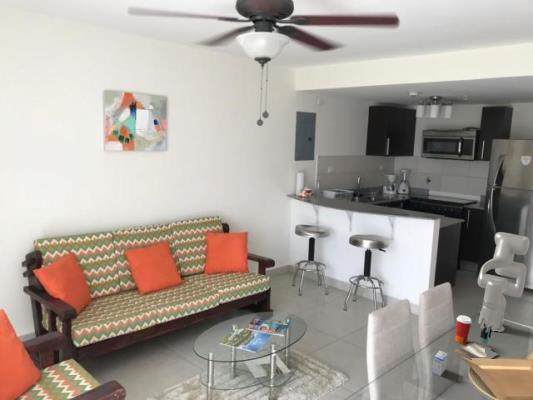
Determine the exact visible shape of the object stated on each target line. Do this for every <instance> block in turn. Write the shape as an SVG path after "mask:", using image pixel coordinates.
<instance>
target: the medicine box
mask: <svg viewBox="0 0 533 400" xmlns="http://www.w3.org/2000/svg"><path fill="white" fill-rule="evenodd" d="M448 358H449V353H447V352H444V351H443V350H438V352H437V353H436V354H435V355H434V356H433V361H432V366H431V371H430V372H431V373H432V374H434V375H436V376H438V377H441V376H442V375H443V373H444V372H445V371H446V369H447V363H448Z"/></svg>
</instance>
